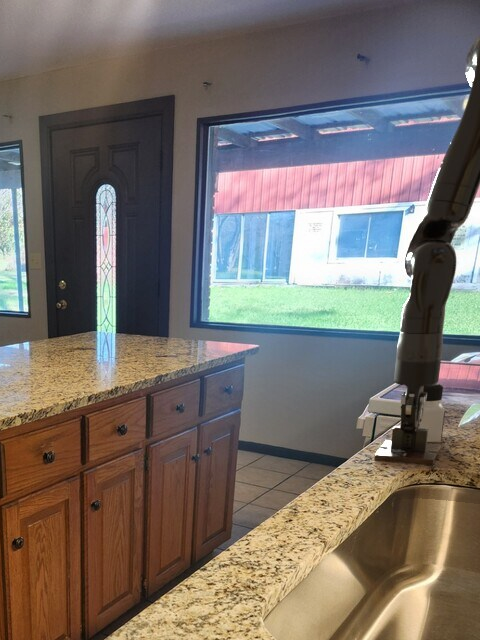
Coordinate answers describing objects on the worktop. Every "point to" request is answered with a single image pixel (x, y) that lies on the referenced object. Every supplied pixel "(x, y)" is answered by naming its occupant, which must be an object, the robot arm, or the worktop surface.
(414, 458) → the panel
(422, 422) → the medicine bottle
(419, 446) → the dark grey upright block
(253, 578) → the worktop surface
